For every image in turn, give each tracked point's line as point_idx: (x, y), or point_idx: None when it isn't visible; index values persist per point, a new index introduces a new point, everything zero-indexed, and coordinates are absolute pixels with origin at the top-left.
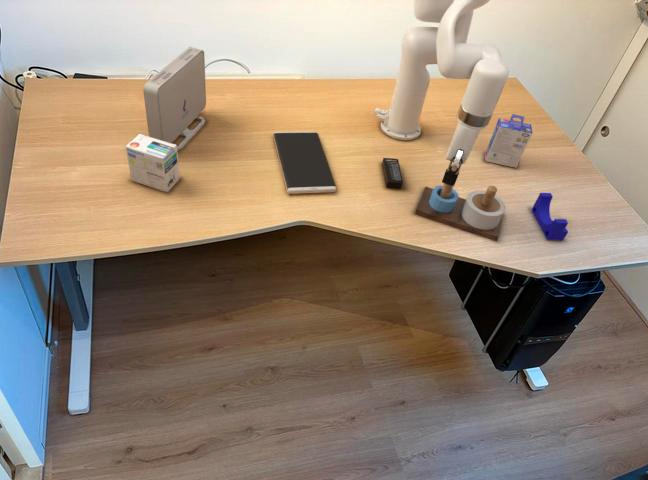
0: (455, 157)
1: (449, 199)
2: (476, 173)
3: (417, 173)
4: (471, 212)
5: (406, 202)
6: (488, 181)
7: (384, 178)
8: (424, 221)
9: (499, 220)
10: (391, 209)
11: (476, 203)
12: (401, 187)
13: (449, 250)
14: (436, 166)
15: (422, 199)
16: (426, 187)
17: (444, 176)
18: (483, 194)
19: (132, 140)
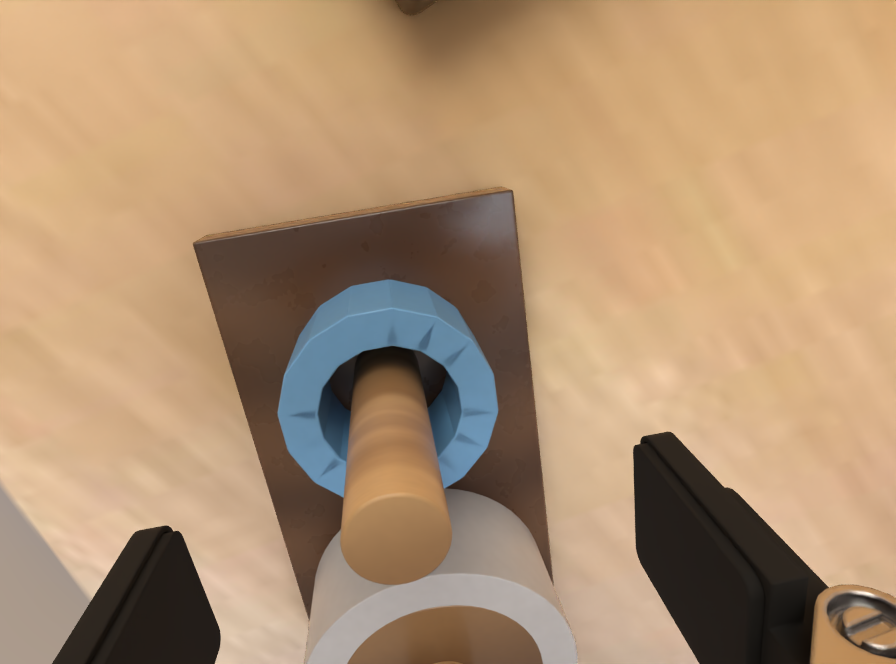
0: (670, 536)
1: (340, 464)
2: (860, 398)
3: (676, 55)
4: (314, 624)
5: (280, 126)
6: (812, 477)
7: None
8: (183, 324)
9: None
10: (106, 53)
11: (388, 648)
12: (405, 10)
13: (58, 542)
14: (827, 152)
15: (342, 234)
16: (501, 202)
17: (91, 613)
18: (525, 642)
19: None
